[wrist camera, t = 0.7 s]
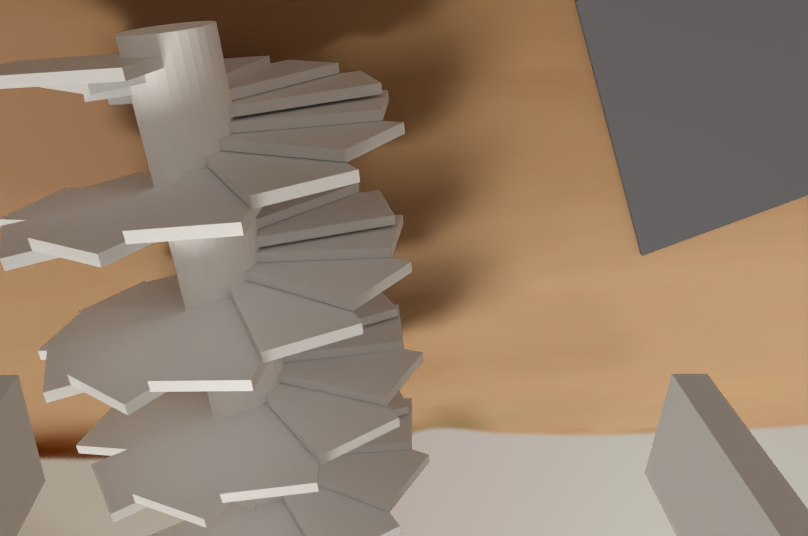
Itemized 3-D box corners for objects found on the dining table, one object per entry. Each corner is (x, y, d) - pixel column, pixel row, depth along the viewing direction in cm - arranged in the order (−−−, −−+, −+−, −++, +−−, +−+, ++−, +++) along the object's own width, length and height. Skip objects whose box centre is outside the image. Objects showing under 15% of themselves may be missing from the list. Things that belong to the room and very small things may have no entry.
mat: (574, 0, 37) (576, 1, 36) (926, -146, 35) (930, -146, 34) (640, 253, 44) (642, 255, 44) (934, 145, 42) (938, 147, 41)
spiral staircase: (297, -4, 40) (354, 370, 50) (-61, 45, 32) (93, 469, 43) (485, 4, 25) (509, 534, 35) (-100, 97, 18) (150, 726, 28)
